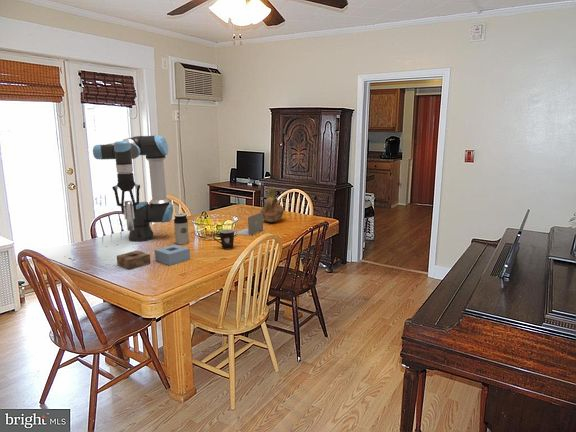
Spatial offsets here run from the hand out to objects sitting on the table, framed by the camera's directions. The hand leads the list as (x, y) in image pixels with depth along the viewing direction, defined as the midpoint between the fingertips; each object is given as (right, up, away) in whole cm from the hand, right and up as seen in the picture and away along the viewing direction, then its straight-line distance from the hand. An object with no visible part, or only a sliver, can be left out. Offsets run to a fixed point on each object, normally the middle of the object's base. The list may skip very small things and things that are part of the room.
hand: (129, 218), depth 211 cm
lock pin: (0, -6, +1) cm, 6 cm away
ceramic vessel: (+69, -3, +97) cm, 120 cm away
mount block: (0, -24, +5) cm, 25 cm away
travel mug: (+16, -15, +43) cm, 49 cm away
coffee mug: (+44, -17, +33) cm, 58 cm away
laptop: (+54, -10, +68) cm, 88 cm away
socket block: (+19, -22, +12) cm, 31 cm away
